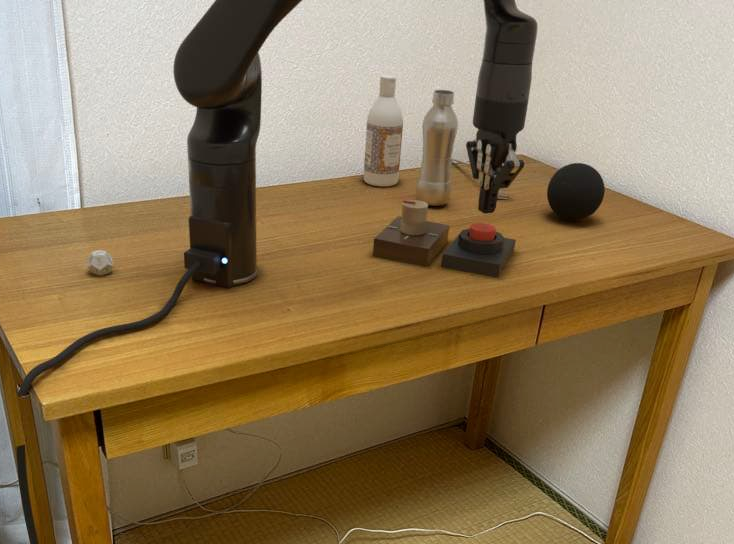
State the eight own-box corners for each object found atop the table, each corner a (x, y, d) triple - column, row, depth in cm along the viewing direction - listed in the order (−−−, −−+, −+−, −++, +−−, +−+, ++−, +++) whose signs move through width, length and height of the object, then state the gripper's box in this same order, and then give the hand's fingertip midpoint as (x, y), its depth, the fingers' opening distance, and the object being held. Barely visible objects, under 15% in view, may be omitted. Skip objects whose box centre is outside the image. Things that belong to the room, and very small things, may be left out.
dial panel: (427, 267, 127) (429, 247, 126) (372, 256, 130) (373, 237, 128) (447, 242, 137) (449, 224, 135) (396, 233, 139) (398, 215, 138)
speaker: (593, 212, 154) (605, 158, 149) (602, 230, 146) (614, 174, 141) (540, 207, 155) (549, 154, 150) (545, 225, 146) (556, 169, 141)
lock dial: (427, 229, 133) (431, 200, 130) (421, 237, 130) (424, 207, 127) (404, 225, 134) (406, 196, 131) (397, 233, 131) (400, 203, 128)
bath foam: (376, 189, 159) (384, 80, 149) (356, 179, 164) (362, 73, 154) (404, 184, 163) (414, 78, 152) (384, 175, 168) (392, 71, 157)
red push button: (491, 244, 127) (492, 233, 126) (466, 239, 128) (467, 229, 127) (496, 236, 130) (498, 225, 129) (472, 231, 131) (473, 221, 130)
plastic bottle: (455, 203, 155) (469, 92, 144) (439, 212, 150) (452, 97, 139) (425, 196, 157) (436, 86, 147) (408, 204, 152) (418, 91, 142)
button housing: (498, 278, 125) (501, 253, 123) (441, 267, 127) (444, 242, 125) (513, 252, 134) (517, 228, 132) (460, 242, 137) (463, 219, 135)
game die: (117, 274, 119) (115, 255, 117) (92, 279, 117) (89, 259, 115) (109, 266, 121) (107, 246, 120) (84, 270, 119) (82, 250, 118)
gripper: (551, 103, 114) (530, 223, 123) (499, 84, 124) (484, 196, 133) (505, 105, 111) (487, 228, 120) (456, 85, 121) (443, 200, 130)
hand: (486, 211), depth 127 cm, fingers closed
